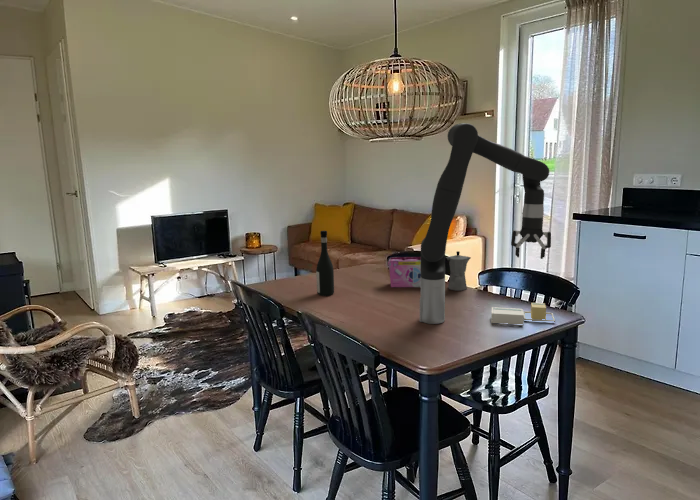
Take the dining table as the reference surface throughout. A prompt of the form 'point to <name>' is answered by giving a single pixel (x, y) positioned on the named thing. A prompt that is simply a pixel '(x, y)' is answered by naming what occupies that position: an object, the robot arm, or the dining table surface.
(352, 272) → the dining table surface
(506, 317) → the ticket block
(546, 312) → the tray
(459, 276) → the coffeepot
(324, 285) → the wine bottle
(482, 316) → the dining table surface
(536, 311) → the beige block
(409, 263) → the gum box
